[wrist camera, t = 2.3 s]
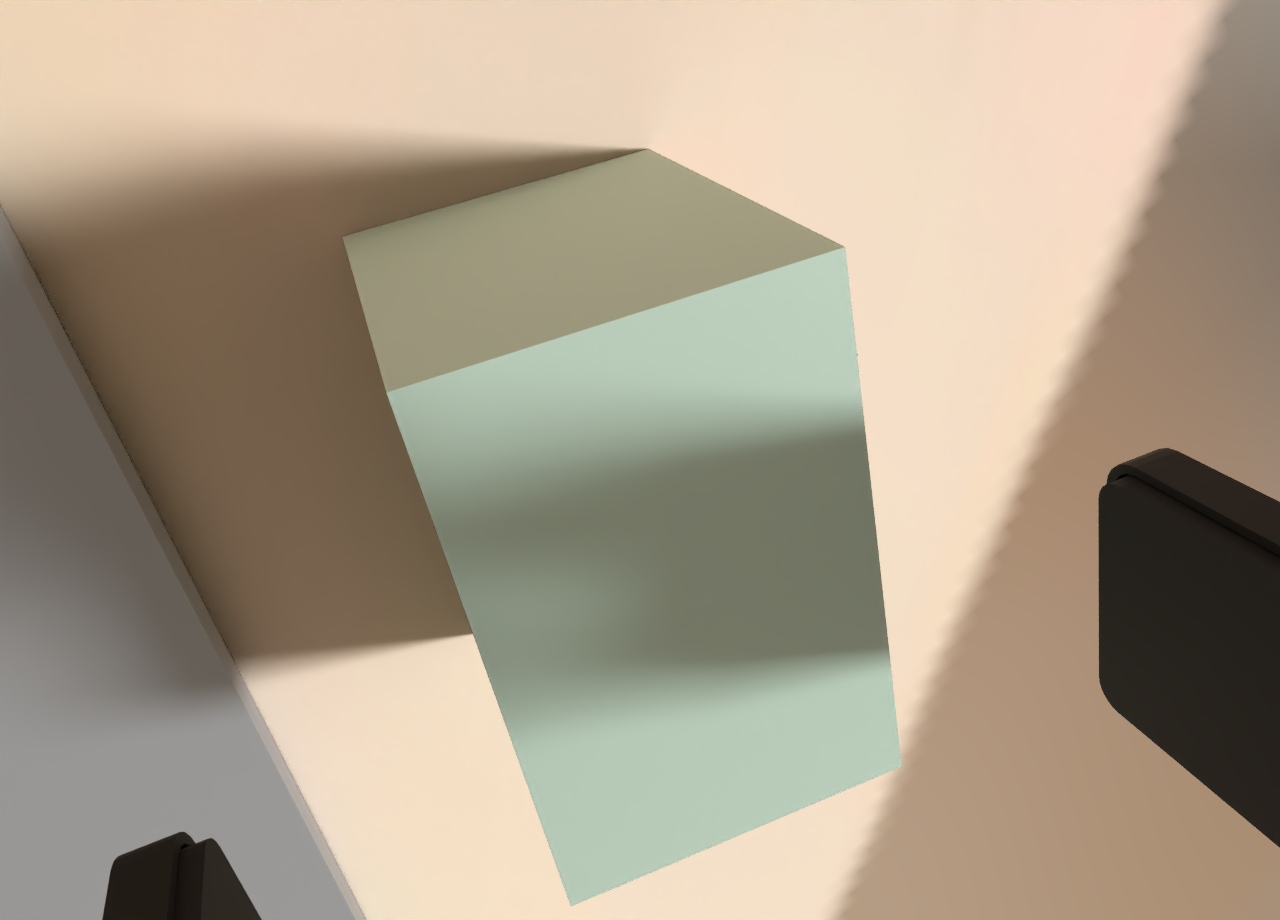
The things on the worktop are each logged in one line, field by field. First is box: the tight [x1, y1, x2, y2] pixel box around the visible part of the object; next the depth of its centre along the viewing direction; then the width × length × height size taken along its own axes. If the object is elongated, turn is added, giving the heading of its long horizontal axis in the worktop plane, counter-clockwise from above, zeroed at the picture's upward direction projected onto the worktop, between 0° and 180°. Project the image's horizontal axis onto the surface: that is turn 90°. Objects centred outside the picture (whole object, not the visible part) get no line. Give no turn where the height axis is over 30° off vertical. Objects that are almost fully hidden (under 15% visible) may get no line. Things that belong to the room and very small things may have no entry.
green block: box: [342, 149, 902, 906], centre depth 14 cm, size 4×7×6 cm, turn 12°
